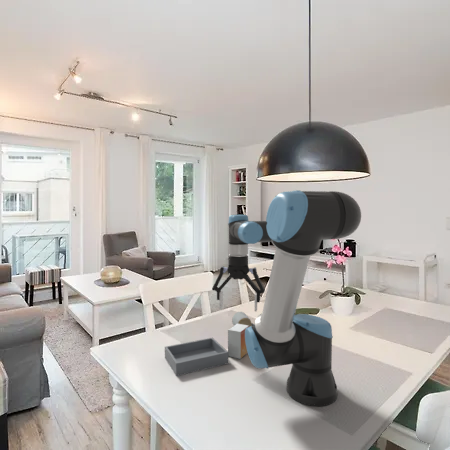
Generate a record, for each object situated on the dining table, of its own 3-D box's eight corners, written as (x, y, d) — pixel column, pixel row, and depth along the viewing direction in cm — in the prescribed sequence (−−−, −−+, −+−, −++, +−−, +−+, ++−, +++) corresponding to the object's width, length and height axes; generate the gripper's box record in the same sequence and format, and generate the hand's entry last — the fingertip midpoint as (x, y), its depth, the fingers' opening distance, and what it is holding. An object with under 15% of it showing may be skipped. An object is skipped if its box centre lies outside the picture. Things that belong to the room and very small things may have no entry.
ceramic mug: (237, 334, 146) (237, 317, 146) (231, 328, 154) (231, 312, 154) (259, 332, 149) (259, 315, 149) (252, 325, 157) (252, 310, 157)
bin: (228, 363, 119) (228, 352, 119) (176, 375, 111) (176, 363, 110) (212, 347, 132) (212, 337, 132) (164, 357, 124) (164, 346, 124)
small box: (240, 359, 122) (240, 332, 121) (227, 356, 125) (227, 329, 124) (249, 351, 129) (249, 325, 128) (237, 348, 132) (236, 322, 131)
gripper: (271, 254, 126) (271, 308, 127) (209, 252, 131) (209, 304, 132) (270, 257, 118) (270, 314, 120) (204, 255, 123) (204, 310, 125)
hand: (238, 309), depth 126 cm, fingers open, 13 cm apart
